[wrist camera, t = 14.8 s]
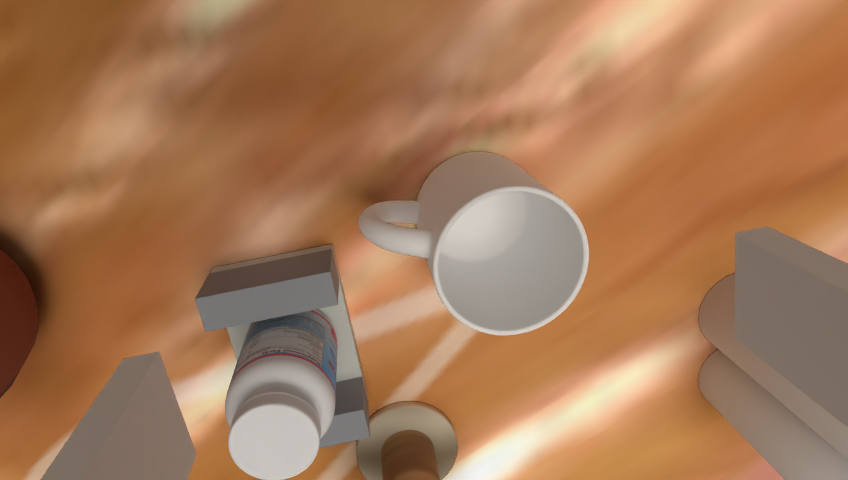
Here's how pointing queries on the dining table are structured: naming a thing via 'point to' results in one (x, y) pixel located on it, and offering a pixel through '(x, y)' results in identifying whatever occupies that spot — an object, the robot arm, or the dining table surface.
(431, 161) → the dining table surface
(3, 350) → the potted plant
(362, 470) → the wooden thread spool
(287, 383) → the pill bottle
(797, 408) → the vase
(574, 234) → the mug
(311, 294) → the notch board
